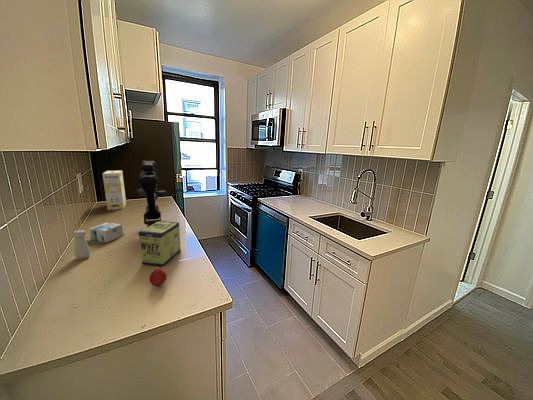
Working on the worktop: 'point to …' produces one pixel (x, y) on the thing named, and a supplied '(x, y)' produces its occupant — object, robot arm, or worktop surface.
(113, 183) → the pasta box
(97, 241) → the mat
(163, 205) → the worktop surface
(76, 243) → the salt shaker
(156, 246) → the protein box
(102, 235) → the light bulb box
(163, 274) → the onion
